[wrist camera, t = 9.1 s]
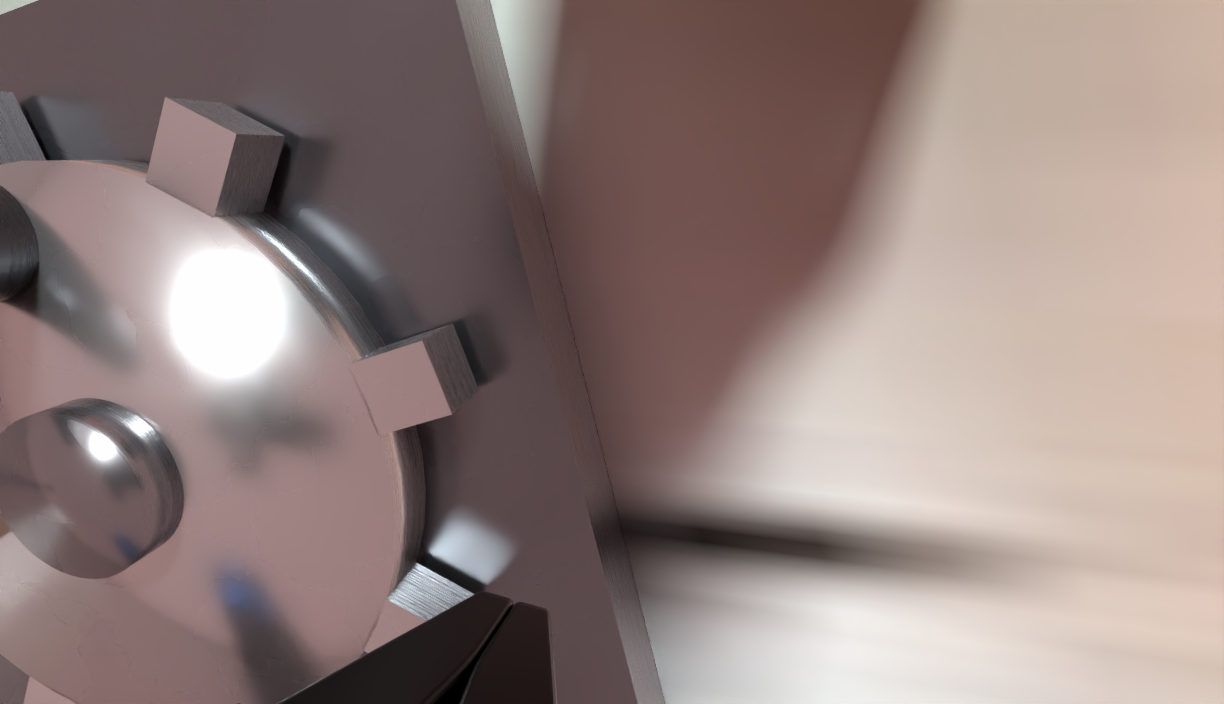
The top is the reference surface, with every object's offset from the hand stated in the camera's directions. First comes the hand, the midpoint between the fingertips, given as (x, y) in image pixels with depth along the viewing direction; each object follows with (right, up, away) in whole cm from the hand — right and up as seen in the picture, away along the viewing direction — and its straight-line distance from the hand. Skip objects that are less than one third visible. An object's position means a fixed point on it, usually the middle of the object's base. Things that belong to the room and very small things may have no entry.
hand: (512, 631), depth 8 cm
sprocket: (-12, 0, +12) cm, 17 cm away
